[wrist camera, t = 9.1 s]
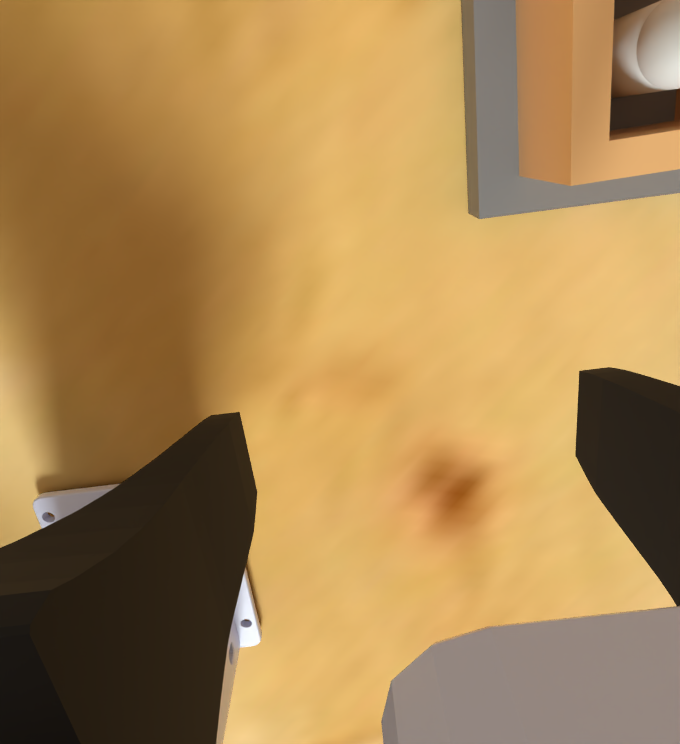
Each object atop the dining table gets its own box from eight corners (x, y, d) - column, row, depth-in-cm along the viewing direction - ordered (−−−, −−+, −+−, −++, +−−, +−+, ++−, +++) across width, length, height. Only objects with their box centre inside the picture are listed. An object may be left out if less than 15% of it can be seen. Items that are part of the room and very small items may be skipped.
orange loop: (701, 147, 17) (803, 149, 13) (519, 176, 17) (570, 186, 14) (722, -75, 15) (852, -145, 11) (514, -39, 15) (574, -97, 11)
